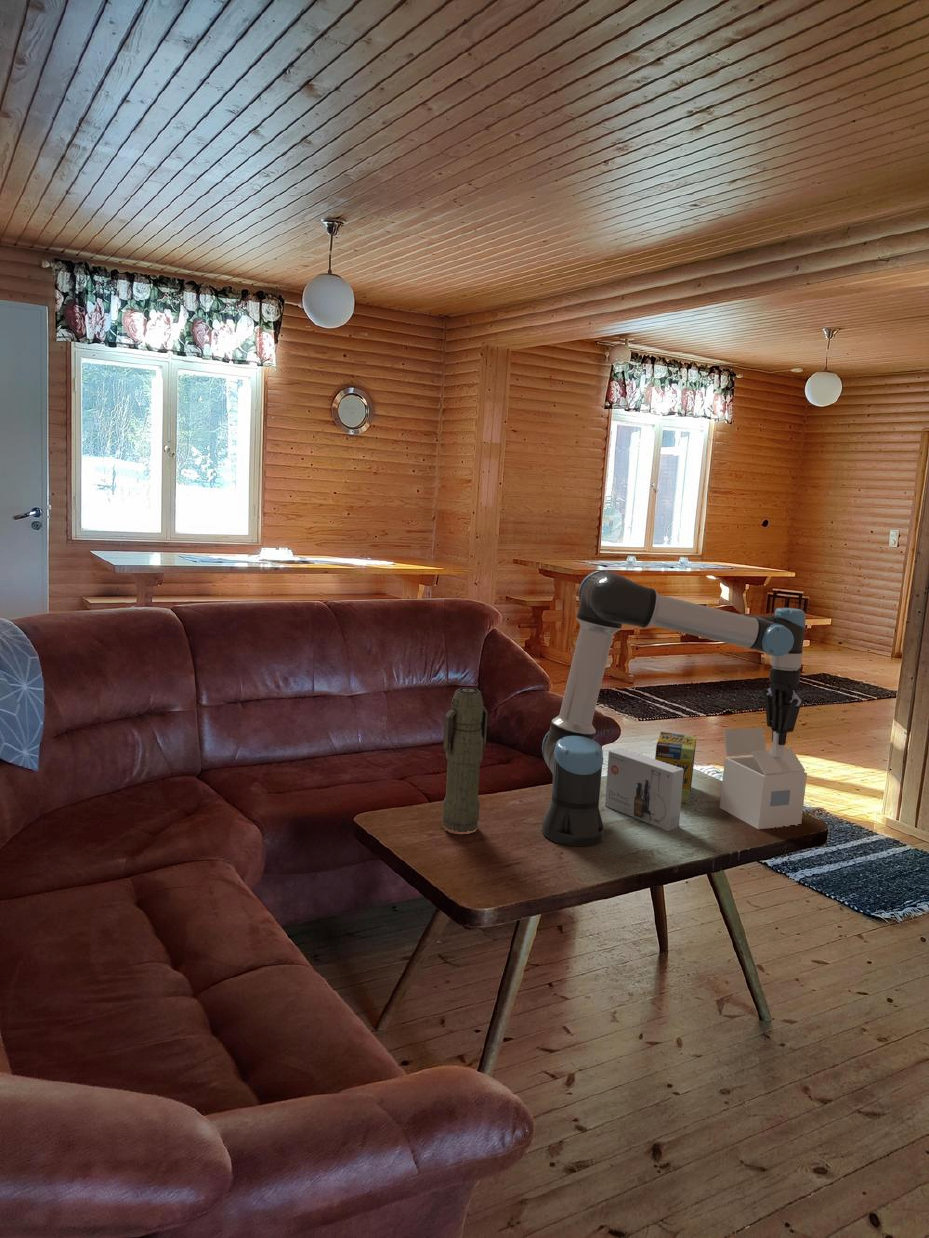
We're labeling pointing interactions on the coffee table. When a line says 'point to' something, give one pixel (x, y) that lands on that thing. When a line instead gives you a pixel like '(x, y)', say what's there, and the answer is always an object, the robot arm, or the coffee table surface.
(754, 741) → the far flap
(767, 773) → the near flap
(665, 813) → the skincare box
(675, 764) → the protein box
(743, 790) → the carton
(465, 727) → the thermos
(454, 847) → the coffee table surface
